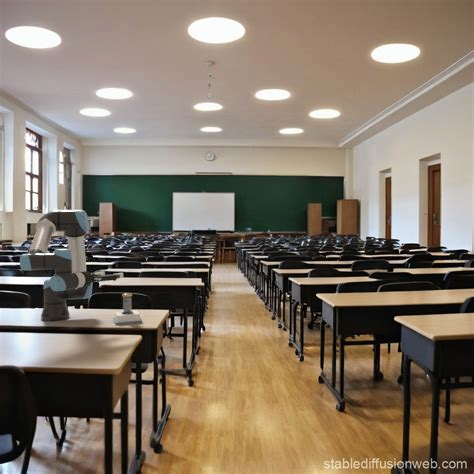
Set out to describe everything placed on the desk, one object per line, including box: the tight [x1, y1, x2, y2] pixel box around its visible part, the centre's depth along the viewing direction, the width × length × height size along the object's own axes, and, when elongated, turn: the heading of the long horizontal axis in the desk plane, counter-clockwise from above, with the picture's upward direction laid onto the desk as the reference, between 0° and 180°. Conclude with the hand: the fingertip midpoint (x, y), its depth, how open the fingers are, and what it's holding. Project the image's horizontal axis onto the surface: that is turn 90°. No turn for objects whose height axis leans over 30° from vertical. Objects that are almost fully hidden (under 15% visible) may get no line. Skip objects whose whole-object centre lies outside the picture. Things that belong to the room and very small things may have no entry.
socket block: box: [113, 309, 143, 326], centre depth 242 cm, size 14×14×4 cm
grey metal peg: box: [121, 292, 133, 314], centre depth 242 cm, size 5×5×14 cm
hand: (113, 274), depth 233 cm, fingers open, 13 cm apart
